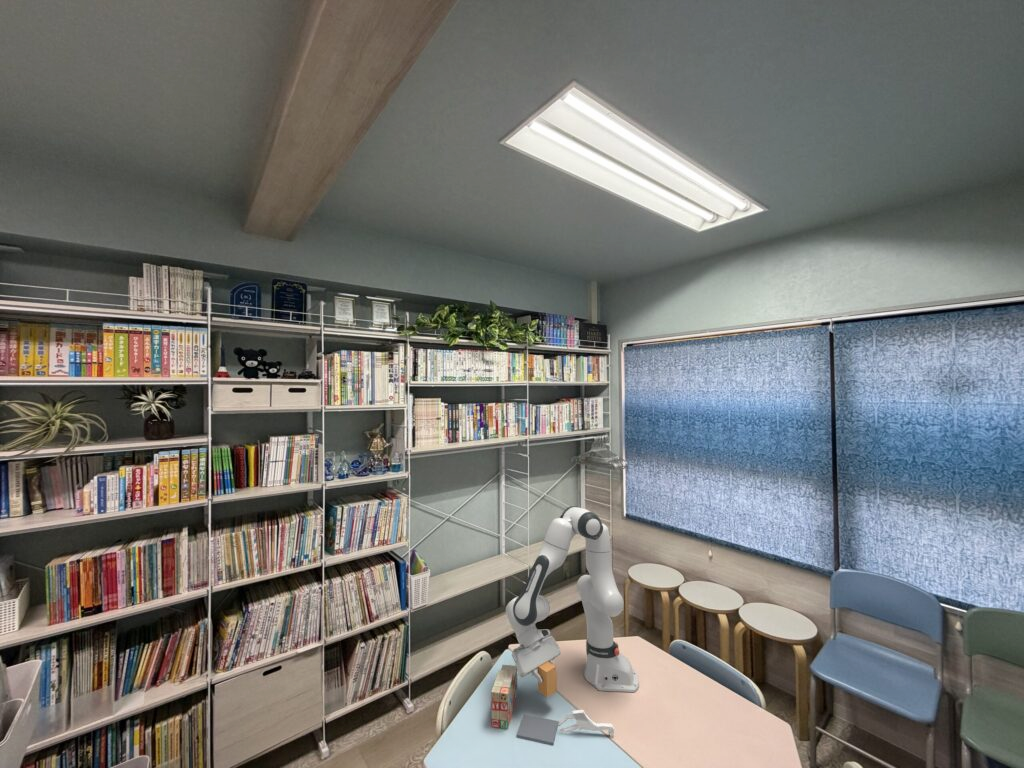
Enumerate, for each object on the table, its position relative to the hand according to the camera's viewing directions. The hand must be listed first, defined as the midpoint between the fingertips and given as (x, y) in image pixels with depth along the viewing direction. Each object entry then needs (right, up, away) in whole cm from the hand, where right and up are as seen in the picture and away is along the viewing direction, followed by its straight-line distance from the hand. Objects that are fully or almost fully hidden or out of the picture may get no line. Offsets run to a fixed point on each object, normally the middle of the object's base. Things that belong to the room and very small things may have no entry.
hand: (548, 678), depth 150 cm
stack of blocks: (-16, -12, +1) cm, 20 cm away
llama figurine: (+12, -11, -12) cm, 20 cm away
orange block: (0, -5, 0) cm, 5 cm away
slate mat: (-5, -10, -11) cm, 16 cm away
